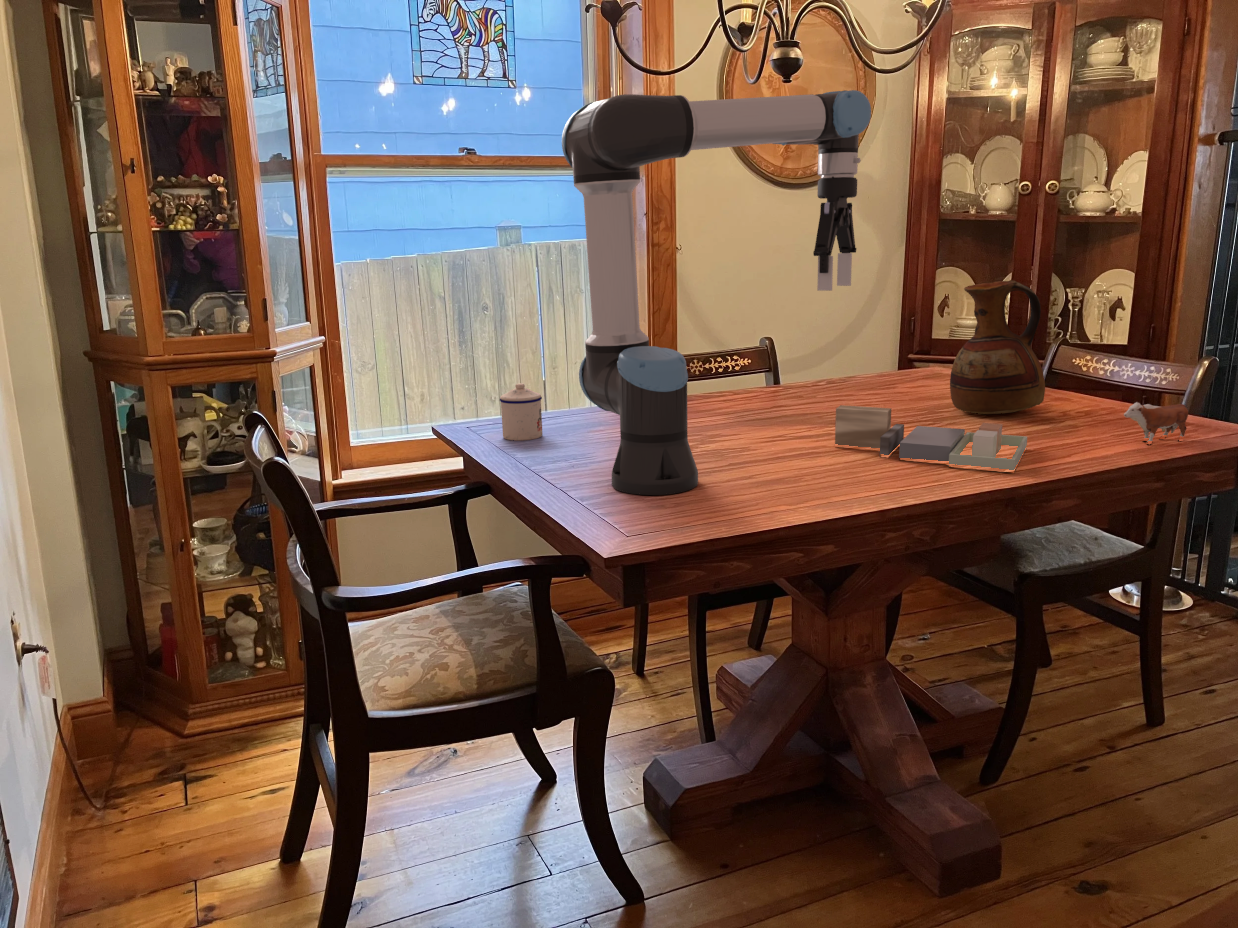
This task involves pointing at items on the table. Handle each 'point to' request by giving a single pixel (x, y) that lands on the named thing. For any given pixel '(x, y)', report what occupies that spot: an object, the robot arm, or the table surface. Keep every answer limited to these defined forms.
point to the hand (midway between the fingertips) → (834, 288)
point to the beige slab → (867, 428)
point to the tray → (989, 461)
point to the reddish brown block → (993, 428)
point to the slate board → (930, 443)
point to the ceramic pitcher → (997, 357)
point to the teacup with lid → (521, 414)
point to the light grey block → (984, 443)
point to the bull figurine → (1158, 418)
